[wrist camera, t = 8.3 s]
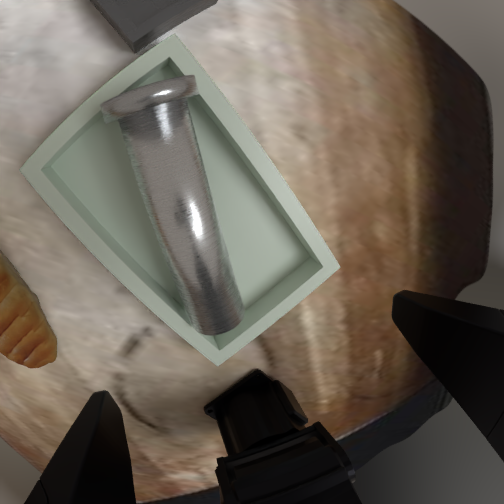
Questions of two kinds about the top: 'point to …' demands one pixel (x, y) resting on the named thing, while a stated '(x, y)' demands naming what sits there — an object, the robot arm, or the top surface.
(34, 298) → the pastry
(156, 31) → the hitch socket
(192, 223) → the pin
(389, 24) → the top surface
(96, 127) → the tray
